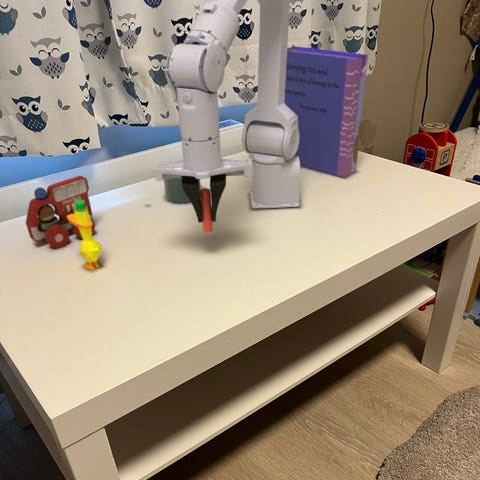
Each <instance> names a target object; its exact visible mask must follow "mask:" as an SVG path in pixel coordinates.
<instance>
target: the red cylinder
mask: <svg viewBox="0 0 480 480" xmlns="http://www.w3.org/2000/svg"><path fill="white" fill-rule="evenodd" d="M200 199H201V209H202V219H203V222H202V229H203V230H202V231H203V232H204V233H210V232H211V233H212V232H213V231H214V226H213V225H214V222H212V219H211V211H212V203H211V192H210V188H208V187H203V188H201V190H200Z"/></svg>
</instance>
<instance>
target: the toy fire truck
mask: <svg viewBox="0 0 480 480" xmlns="http://www.w3.org/2000/svg"><path fill="white" fill-rule="evenodd" d="M89 189H90V187H89V182H88V179H87V177H84V176H82V175H77V176H74V177H70V178H68V179H64V180H61V181H58V182H56V183H53V184H49V185H48V186H47V188H46V189H45V188H43V187H37V188H36V189H34V197H33V198H31V200H30V201H29V204H28V209H27V214H26V218H25V225H26V229H27V232H28V235H29V237H30V239H31V240H32V241H33V242H36V243H38V242H41V241H44V240H45V241H46V243H47V244H48V245H49V246H51V247H52V248H56V249H57V248H62V247H64V246H65V245H67V243H68V242H69V239H70V233H69V231H72V233H73V234H74V235H75V236H76V237H77V238H79V239H83V238H82V235H81V233H80V230H79V228H78V227H77V226H75V225H73V224H71V223H70V222H69V221H68V219H67V215H70V214H75V213H74V209H73V207H74V206H75V203H74V201H76V200H79V199H81V200H84V201H85V205H86V206H87V209H88V213H89V217H90V219H91V221H92V224H93V225H92V227H91V230H92V235H93V234H94V233H95V229H96V225H95V222H94V220H93V219H94V216H93V211H92V207H91V201H90V198H89Z"/></svg>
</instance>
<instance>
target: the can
mask: <svg viewBox="0 0 480 480" xmlns="http://www.w3.org/2000/svg"><path fill="white" fill-rule="evenodd" d="M181 185H182V180H181V178H173V179H164V180H163V186H164V194H165V195H164V196H165V199H166V200H167V201H168V202H169V203H173V204H181V205H182V204H191V201H190V200H189V198H188V196H187V195H186V193H185V192H184V191H183V189H182V186H181ZM199 188H200V190H201V189H202V186H201V179H199Z"/></svg>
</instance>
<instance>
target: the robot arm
mask: <svg viewBox="0 0 480 480" xmlns="http://www.w3.org/2000/svg"><path fill="white" fill-rule="evenodd" d="M247 2H248V0H209V1H208V2H205V3H204V5H203V7H202V8H201V11H200V12H199V14H198V16H197V17H196V19H195V21H194V24H193V25H192V27H191V29H190V31H188V34H187V36H186V37H185V39H184V41H183V43H177V44H176V45H175V46H174V47H173V48H171V49H170V50H169V52H168V54H167V57H166V63H165V70H164V75H165V79H166V81H167V84H168V85H169V87H170V89H171V92H172V100H174V102H175V103H176V104H177V109H178V110H177V112H178V120H179V121H178V122H179V130H180V131H179V132H180V140H181V150H182V159H183V160H177V161H172V162H167V163H166V162H165V163H156V164H155V167H154V174H155V181H156V182H162V181H164V179H173V178H181V180H182V185H181V186H182V189H183V191H184V192H185V193H186V195H187V196H188V198H189V200H190V201H191V202H190V204H191V205H192V207H193V209H194V212H195V215H196V219H197V222H198V223H203V219H202V209H201V197H200V188H199V179H200V180H206V179H209V189H210V196H211V209H212V211H211V219H212V223H215V222H217V214H218V208H219V204H220V201H221V198H222V195H223V194H224V191H225V189H226V186H227V177H236V176H238V177H239V176H243V177H244V178H251V177H252V190H250V191H249V195H250V196H249V197H250V204H251V209H254V210H257V209H259V210H260V209H278V208H280V209H281V208H282V209H283V208H299V207H300V194H301V167H300V161H299V157H298V156H294V155H295V154H296V152H297V149H298V145H299V130H298V116H297V115H296V114H295V113H294V112H293V111H292V110H291V109H290V108H289V107H287V106H286V104H285V103H284V100H285V82H286V63H287V48H288V45H289V25H290V9H291V0H256V2H257V3H258V4H259V32H258V33H259V34H258V35H259V36H258V37H259V38H258V69H257V101H256V103H257V104H256V105H255V106H254V107H252V108H251V109H250V110H248V111H247V113H246V114H245V116H244V124H243V129H242V134H241V145H242V148H243V150H244V152H245V153H247V154H248V159H234V158H233V159H232V158H222V151H221V150H222V149H221V133H220V116H219V115H220V114H219V97H218V90H220V87H221V86H222V85H223V82H224V78H225V71H226V70H225V69H226V65H227V63H228V57H227V54H228V53H229V50H230V48H231V47H232V44H233V42H234V40H235V39H236V37H237V35H238V33H239V31H240V20H239V17H238V16H239V14H240V12H241V11H242V10H243V8H244V7H245V5H246V3H247Z"/></svg>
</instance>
